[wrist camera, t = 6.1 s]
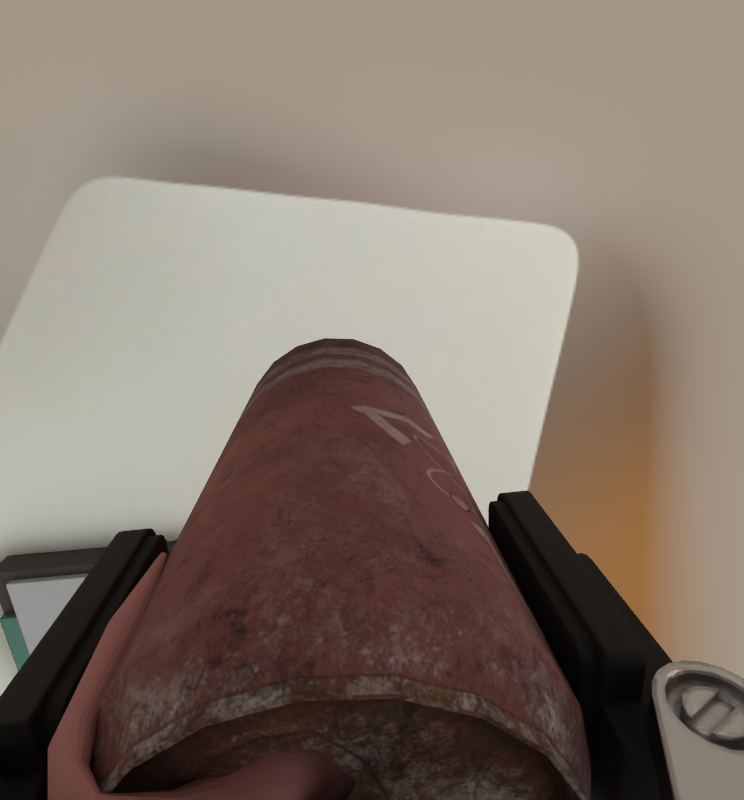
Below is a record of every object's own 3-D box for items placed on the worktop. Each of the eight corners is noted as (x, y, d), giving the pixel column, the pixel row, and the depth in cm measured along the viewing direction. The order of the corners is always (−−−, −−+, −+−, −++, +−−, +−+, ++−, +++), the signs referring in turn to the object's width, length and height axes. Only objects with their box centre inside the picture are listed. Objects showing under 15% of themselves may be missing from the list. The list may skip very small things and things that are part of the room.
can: (275, 306, 17) (53, 582, 4) (445, 370, 18) (755, 762, 5) (223, 460, 18) (-60, 1041, 5) (382, 510, 20) (480, 1092, 6)
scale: (52, 691, 41) (35, 719, 38) (7, 555, 37) (-16, 577, 34) (238, 672, 42) (232, 698, 39) (213, 537, 37) (205, 557, 35)
